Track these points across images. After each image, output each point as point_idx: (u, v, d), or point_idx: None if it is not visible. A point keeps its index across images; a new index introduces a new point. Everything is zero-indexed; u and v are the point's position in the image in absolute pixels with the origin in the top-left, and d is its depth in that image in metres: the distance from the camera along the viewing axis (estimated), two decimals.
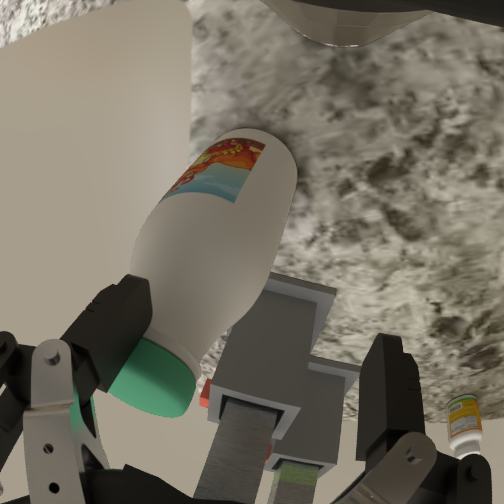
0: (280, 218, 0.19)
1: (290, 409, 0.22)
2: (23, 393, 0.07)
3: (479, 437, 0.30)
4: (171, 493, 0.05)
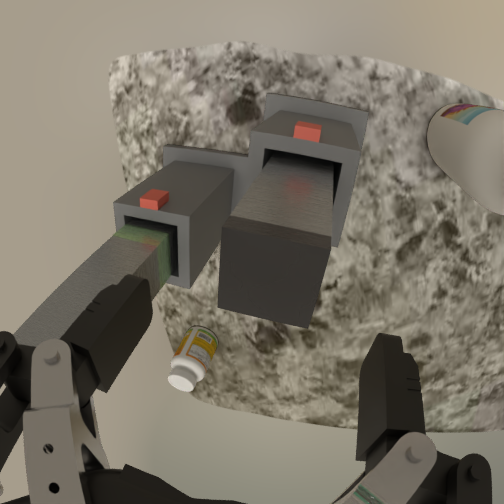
0: None
1: (331, 237, 0.22)
2: (23, 393, 0.07)
3: (199, 379, 0.45)
4: (170, 493, 0.05)
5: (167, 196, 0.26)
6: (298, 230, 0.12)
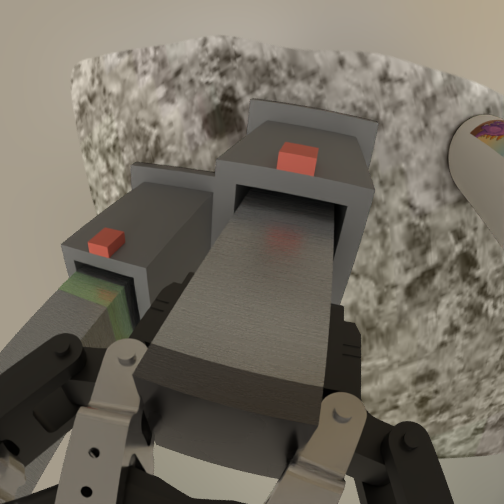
0: None
1: None
2: (86, 398, 0.08)
3: None
4: (171, 493, 0.05)
5: (123, 237, 0.20)
6: (264, 378, 0.07)
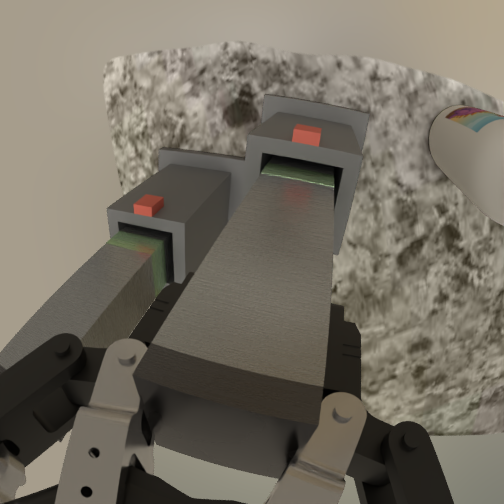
0: None
1: None
2: (86, 397, 0.08)
3: None
4: (171, 493, 0.05)
5: (162, 201, 0.25)
6: (264, 377, 0.07)
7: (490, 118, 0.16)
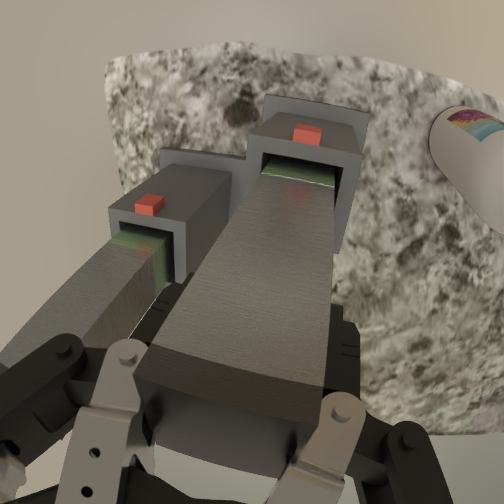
0: None
1: None
2: (87, 398, 0.08)
3: None
4: (171, 493, 0.05)
5: (163, 201, 0.25)
6: (264, 377, 0.07)
7: (494, 127, 0.17)
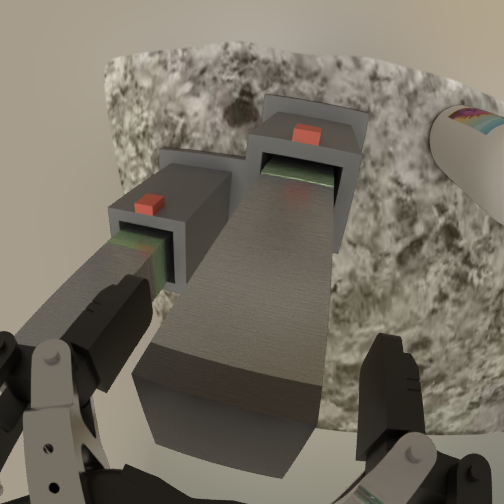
0: None
1: None
2: (23, 393, 0.07)
3: None
4: (170, 493, 0.05)
5: (163, 201, 0.25)
6: (263, 377, 0.07)
7: (498, 121, 0.16)
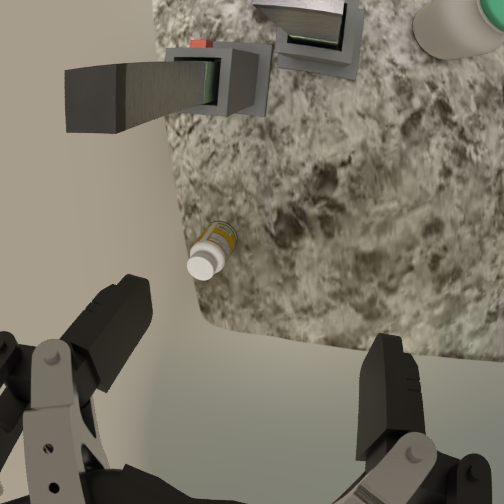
0: (463, 56, 0.24)
1: (345, 55, 0.24)
2: (23, 393, 0.07)
3: (219, 268, 0.47)
4: (171, 492, 0.05)
5: (212, 44, 0.28)
6: None
7: None
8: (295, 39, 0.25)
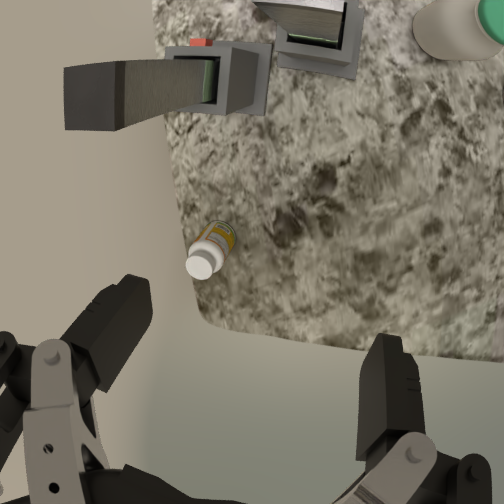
0: (460, 59, 0.24)
1: (344, 54, 0.24)
2: (23, 393, 0.07)
3: (218, 267, 0.47)
4: (171, 493, 0.05)
5: (211, 42, 0.27)
6: None
7: None
8: (295, 38, 0.25)
